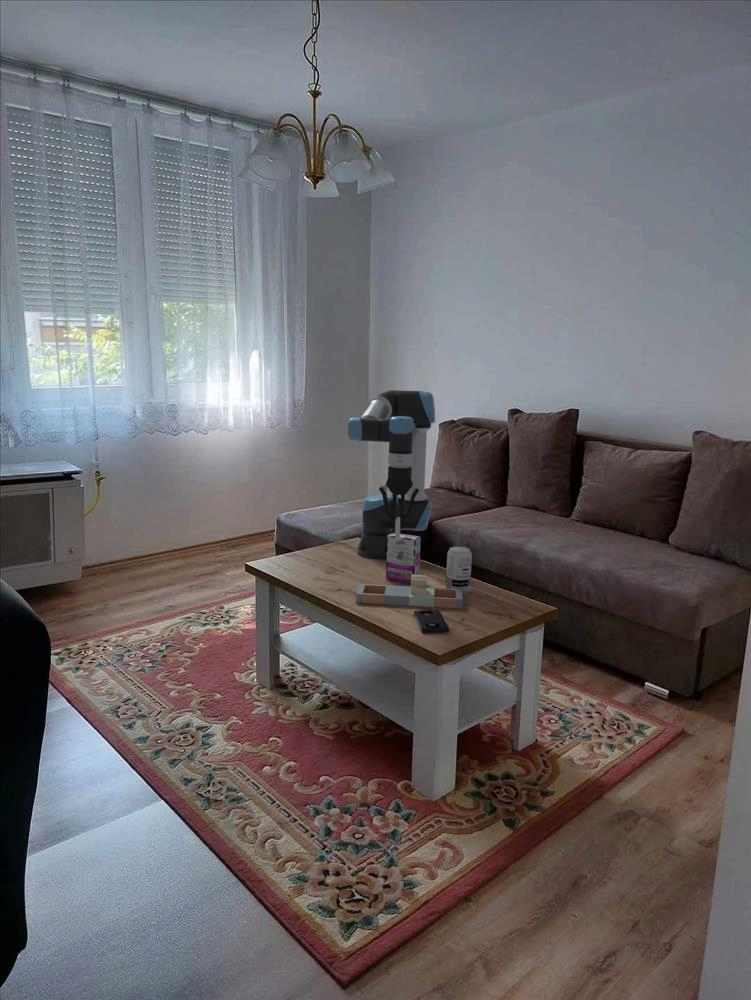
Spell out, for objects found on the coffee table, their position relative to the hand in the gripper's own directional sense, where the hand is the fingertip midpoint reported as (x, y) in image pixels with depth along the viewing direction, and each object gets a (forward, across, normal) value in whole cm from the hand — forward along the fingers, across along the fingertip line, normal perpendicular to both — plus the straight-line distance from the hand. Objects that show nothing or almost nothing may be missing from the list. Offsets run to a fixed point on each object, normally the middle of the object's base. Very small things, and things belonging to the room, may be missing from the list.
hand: (397, 537), depth 232 cm
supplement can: (+21, +21, +10) cm, 31 cm away
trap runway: (+21, +5, -2) cm, 21 cm away
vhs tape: (+21, +12, -21) cm, 32 cm away
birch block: (+18, +8, -2) cm, 19 cm away
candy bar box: (+21, +2, +18) cm, 28 cm away
